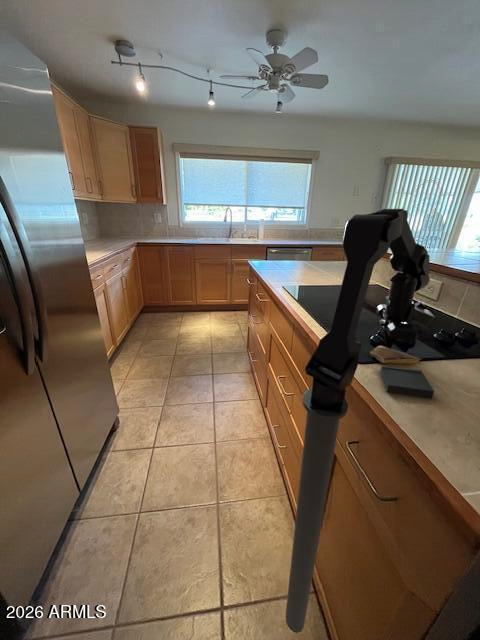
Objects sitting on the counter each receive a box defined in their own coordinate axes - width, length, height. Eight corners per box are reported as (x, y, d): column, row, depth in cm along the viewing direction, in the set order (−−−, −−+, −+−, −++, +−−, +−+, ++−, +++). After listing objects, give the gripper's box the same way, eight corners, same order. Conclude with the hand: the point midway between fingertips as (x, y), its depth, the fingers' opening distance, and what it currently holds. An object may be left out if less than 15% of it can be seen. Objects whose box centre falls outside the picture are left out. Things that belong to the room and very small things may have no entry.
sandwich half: (420, 363, 70) (422, 357, 69) (410, 375, 65) (412, 369, 65) (379, 348, 78) (380, 343, 77) (367, 358, 73) (368, 352, 72)
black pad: (386, 392, 60) (388, 384, 59) (379, 372, 67) (381, 365, 66) (431, 398, 57) (434, 391, 57) (419, 377, 64) (421, 370, 64)
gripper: (451, 311, 60) (432, 368, 66) (422, 288, 76) (409, 336, 82) (396, 307, 62) (383, 363, 69) (380, 286, 79) (371, 332, 85)
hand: (388, 347), depth 76 cm, fingers closed
